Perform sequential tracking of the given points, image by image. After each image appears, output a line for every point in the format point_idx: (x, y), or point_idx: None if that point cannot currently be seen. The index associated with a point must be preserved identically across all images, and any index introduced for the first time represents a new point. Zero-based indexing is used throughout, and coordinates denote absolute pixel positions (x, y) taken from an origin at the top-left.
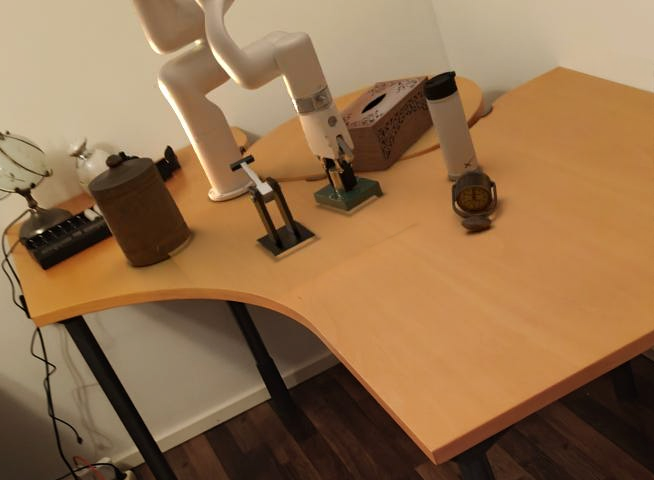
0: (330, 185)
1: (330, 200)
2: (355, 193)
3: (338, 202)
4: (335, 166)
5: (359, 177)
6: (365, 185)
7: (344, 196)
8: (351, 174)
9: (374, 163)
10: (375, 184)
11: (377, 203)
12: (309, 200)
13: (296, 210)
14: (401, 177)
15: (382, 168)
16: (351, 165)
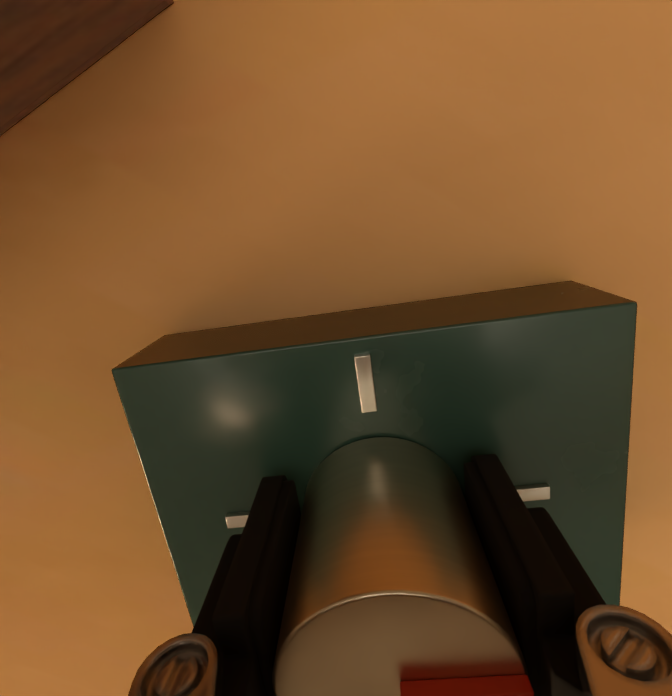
0: (203, 538)
1: None
2: (589, 518)
3: None
4: (334, 692)
5: (333, 350)
6: (557, 406)
7: None
8: (579, 574)
9: (50, 36)
10: (630, 340)
11: (637, 373)
12: (89, 557)
13: (144, 639)
14: (472, 9)
15: (138, 16)
16: (667, 644)
